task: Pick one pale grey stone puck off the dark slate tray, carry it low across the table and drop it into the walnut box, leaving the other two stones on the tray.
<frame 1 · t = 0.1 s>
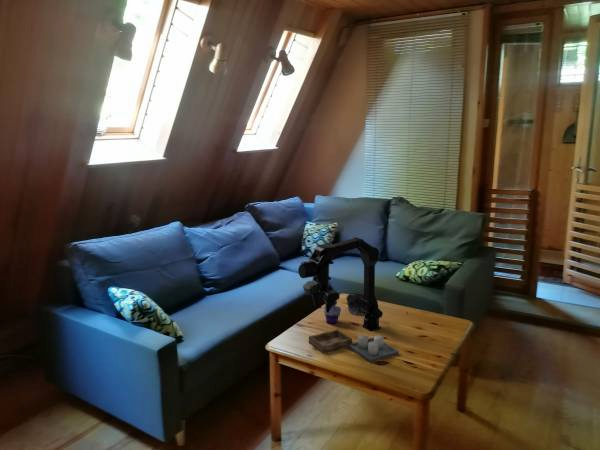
hand: (321, 309, 199), 15 cm above the table, fingers open, 9 cm apart
crystal cluster: (359, 311, 236), on the table
stone b: (362, 346, 195), point 1 cm above the table, touching slate tray
stone a: (378, 347, 195), point 1 cm above the table, touching slate tray
slate tray: (372, 350, 194), on the table
walnut box: (330, 344, 199), on the table
stone c: (372, 353, 189), point 1 cm above the table, touching slate tray
potion bottle: (331, 322, 222), on the table
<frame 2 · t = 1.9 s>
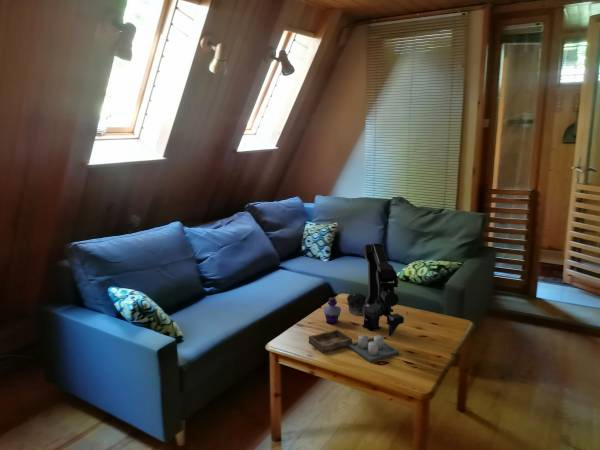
hand: (382, 332, 195), 7 cm above the table, fingers open, 9 cm apart
nothing on the table moved.
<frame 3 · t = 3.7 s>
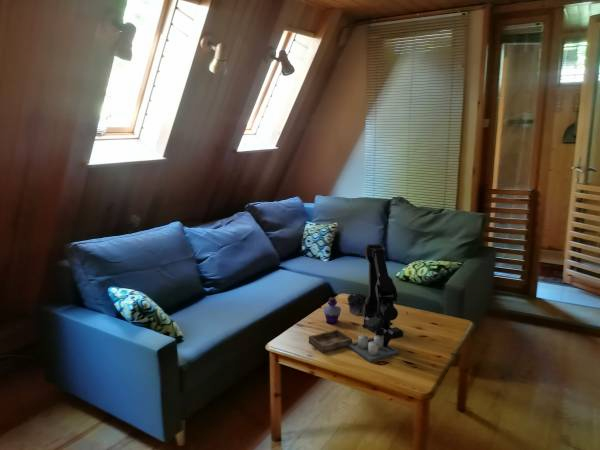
hand: (382, 345, 196), 1 cm above the table, fingers closed on stone a, 3 cm apart
stone a: (378, 347, 195), point 1 cm above the table, touching gripper, slate tray
everything else where it was.
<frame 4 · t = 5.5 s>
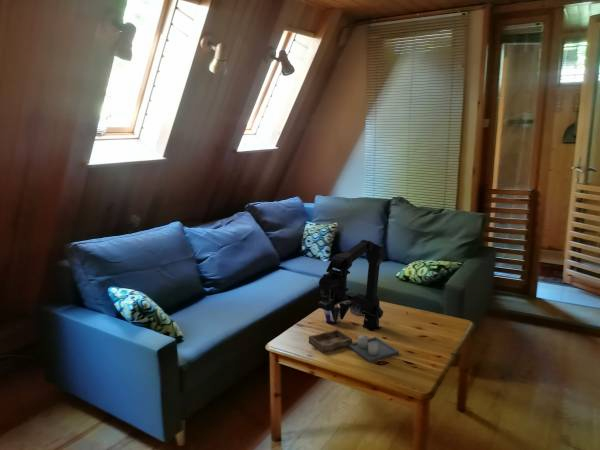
hand: (338, 320, 196), 11 cm above the table, fingers closed on stone a, 3 cm apart
stone a: (334, 319, 198), point 11 cm above the table, touching gripper
everything else where it was.
when the fingers open (3 cm above the table, at t = 7.6 s): stone a drops 2 cm, resting on walnut box.
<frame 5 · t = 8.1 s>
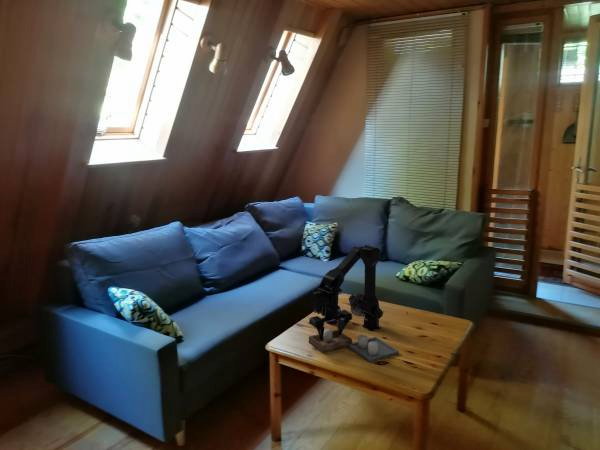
hand: (330, 337, 198), 3 cm above the table, fingers open, 9 cm apart
stone a: (327, 340, 201), point 1 cm above the table, touching walnut box
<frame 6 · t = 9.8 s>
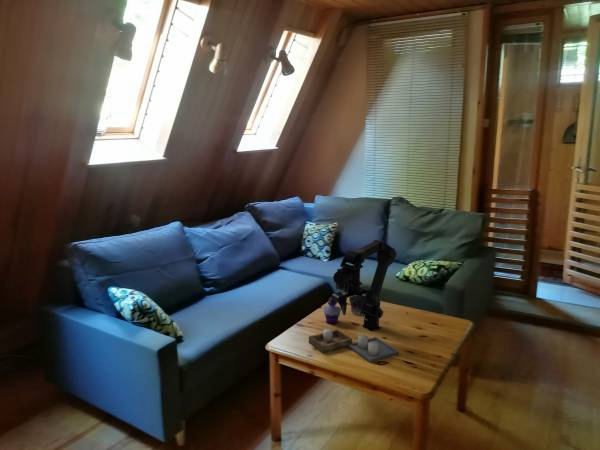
hand: (352, 312, 203), 12 cm above the table, fingers open, 9 cm apart
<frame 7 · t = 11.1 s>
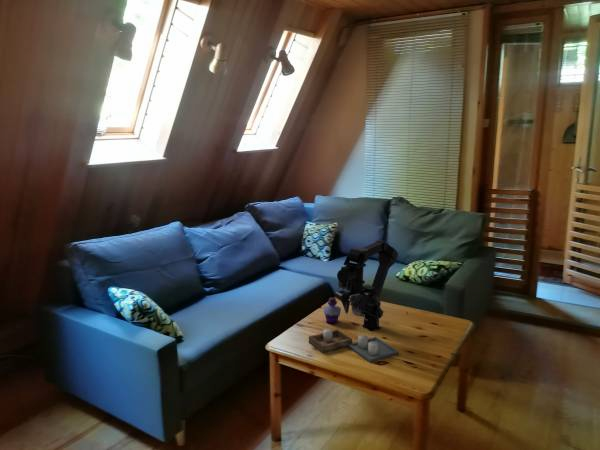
hand: (355, 311, 204), 12 cm above the table, fingers open, 9 cm apart
at the end: stone a inside the target area on the walnut box (2.1 cm from its centre), point 0.8 cm above the walnut box's base; the gripper is holding nothing; stone b moved 0.0 cm from its start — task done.
